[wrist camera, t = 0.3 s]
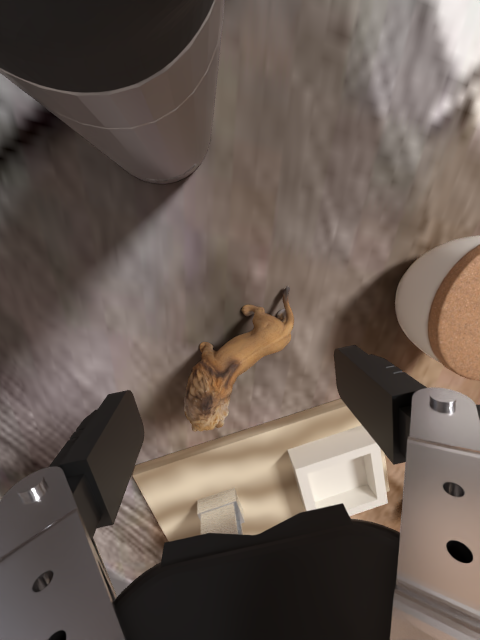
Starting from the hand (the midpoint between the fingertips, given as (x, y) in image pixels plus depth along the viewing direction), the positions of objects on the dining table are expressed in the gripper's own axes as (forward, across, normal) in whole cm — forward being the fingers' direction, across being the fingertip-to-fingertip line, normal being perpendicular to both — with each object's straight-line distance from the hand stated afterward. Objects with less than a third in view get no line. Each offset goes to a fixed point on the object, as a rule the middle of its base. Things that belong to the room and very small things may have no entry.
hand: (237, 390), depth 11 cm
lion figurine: (+19, -1, +5) cm, 20 cm away
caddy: (+18, -10, +24) cm, 32 cm away
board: (+20, -2, +24) cm, 31 cm away
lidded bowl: (+20, -22, +4) cm, 30 cm away
